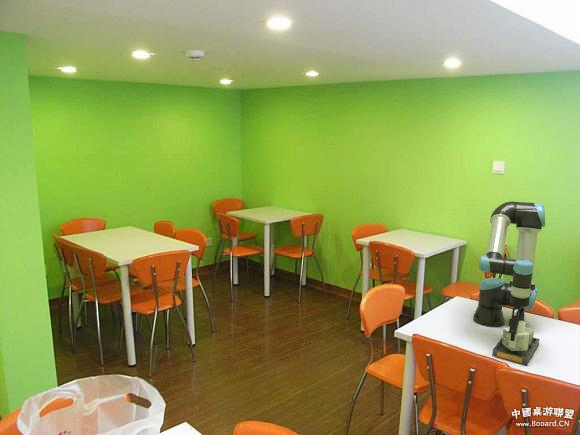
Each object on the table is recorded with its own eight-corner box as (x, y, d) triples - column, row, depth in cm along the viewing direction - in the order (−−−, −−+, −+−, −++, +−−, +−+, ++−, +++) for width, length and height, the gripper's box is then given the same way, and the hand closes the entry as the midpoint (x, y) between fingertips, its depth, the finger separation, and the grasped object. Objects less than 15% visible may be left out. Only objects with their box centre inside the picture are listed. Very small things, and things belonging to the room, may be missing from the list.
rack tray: (491, 356, 199) (492, 349, 198) (506, 336, 220) (507, 330, 219) (526, 366, 190) (527, 359, 190) (538, 344, 211) (539, 339, 210)
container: (501, 343, 204) (504, 316, 202) (517, 342, 205) (520, 316, 203) (511, 351, 197) (514, 323, 194) (527, 350, 197) (531, 322, 195)
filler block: (508, 340, 211) (509, 328, 210) (511, 335, 217) (513, 323, 216) (529, 346, 205) (530, 334, 204) (532, 340, 211) (534, 328, 210)
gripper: (523, 304, 185) (518, 354, 189) (534, 291, 203) (529, 336, 207) (504, 300, 190) (499, 349, 194) (516, 287, 208) (511, 332, 212)
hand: (514, 342), depth 200 cm, fingers closed on container, 10 cm apart
